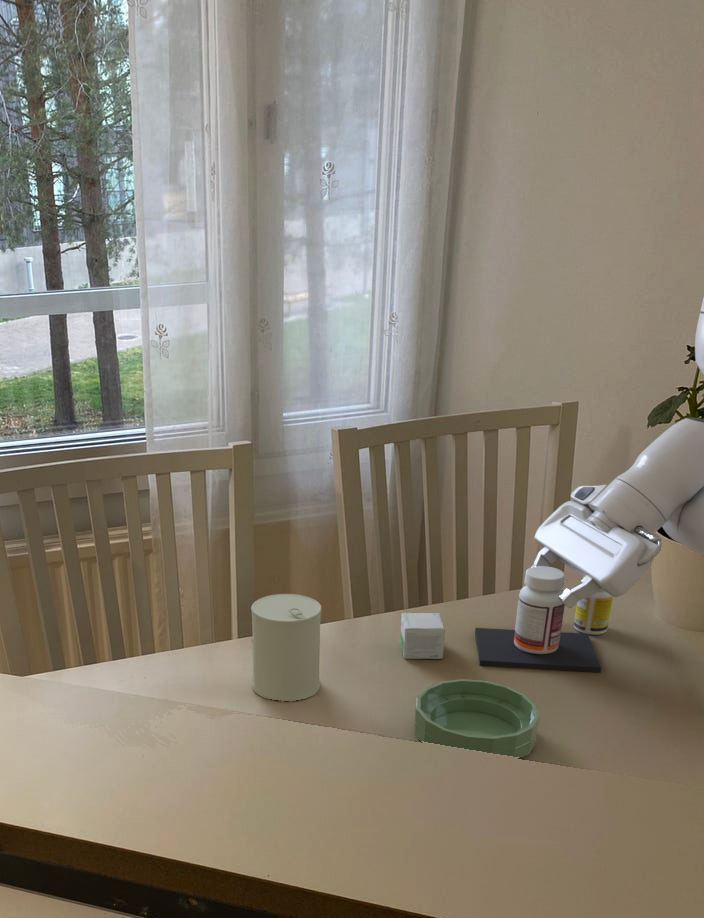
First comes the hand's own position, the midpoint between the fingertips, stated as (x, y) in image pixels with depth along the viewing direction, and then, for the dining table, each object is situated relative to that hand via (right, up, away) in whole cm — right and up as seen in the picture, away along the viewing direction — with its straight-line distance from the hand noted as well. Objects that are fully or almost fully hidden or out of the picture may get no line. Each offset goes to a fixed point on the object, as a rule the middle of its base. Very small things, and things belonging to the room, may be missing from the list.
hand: (546, 590), depth 126 cm
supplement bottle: (+10, -5, +11) cm, 16 cm away
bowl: (-14, -19, -16) cm, 29 cm away
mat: (0, -8, +4) cm, 10 cm away
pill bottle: (0, -8, +4) cm, 9 cm away
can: (-36, -13, -3) cm, 39 cm away
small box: (-16, -9, +6) cm, 19 cm away
